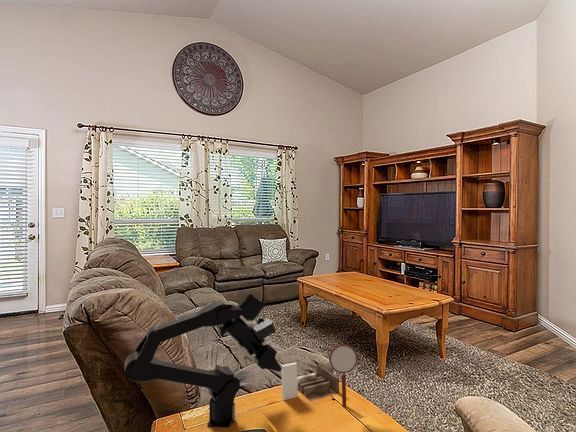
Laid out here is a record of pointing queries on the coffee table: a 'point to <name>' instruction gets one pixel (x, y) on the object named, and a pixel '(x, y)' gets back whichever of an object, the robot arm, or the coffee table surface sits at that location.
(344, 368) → the magnifying glass
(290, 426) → the coffee table surface
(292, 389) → the white flat board
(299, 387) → the offcut rack
